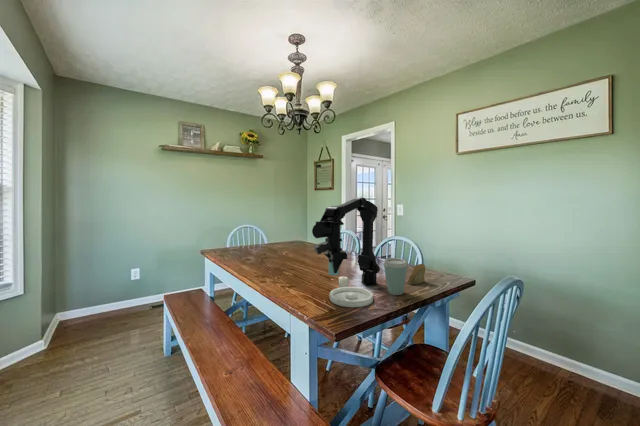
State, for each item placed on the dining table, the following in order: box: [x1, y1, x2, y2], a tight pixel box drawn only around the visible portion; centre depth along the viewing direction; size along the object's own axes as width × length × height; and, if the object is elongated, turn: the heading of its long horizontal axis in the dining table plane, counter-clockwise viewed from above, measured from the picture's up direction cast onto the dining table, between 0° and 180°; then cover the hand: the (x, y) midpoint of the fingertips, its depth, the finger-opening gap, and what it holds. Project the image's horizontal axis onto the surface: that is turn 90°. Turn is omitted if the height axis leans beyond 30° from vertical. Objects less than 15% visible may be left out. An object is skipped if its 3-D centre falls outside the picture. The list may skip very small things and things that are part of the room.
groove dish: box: [329, 286, 374, 308], centre depth 121 cm, size 18×18×2 cm
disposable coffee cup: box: [382, 257, 408, 296], centre depth 129 cm, size 11×11×15 cm
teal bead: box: [328, 261, 340, 276], centre depth 124 cm, size 4×4×5 cm
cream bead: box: [338, 276, 349, 288], centre depth 136 cm, size 4×4×5 cm
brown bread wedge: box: [407, 263, 426, 286], centre depth 144 cm, size 11×9×10 cm
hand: (333, 271), depth 124 cm, fingers closed on teal bead, 4 cm apart
